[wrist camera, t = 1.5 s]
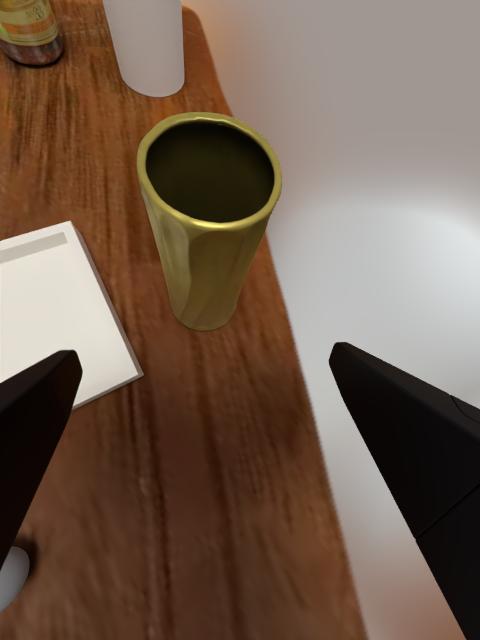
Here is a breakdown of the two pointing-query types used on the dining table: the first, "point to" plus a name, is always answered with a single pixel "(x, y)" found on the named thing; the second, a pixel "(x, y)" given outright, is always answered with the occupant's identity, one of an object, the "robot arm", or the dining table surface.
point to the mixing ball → (13, 575)
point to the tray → (60, 311)
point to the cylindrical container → (148, 44)
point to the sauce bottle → (29, 31)
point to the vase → (207, 209)
